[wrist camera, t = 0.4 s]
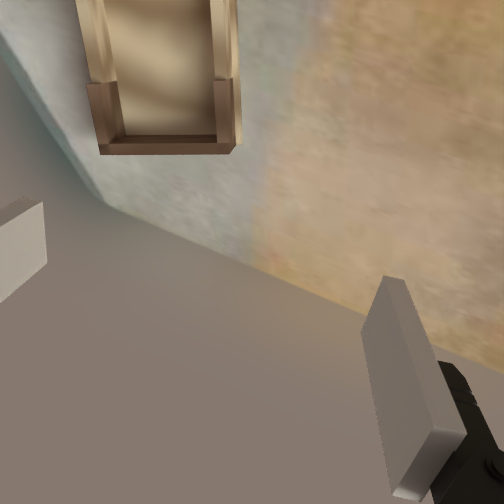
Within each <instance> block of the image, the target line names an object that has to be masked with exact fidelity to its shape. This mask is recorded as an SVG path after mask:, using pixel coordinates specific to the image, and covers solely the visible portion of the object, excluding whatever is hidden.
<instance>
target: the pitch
mask: <svg viewBox="0 0 504 504" xmlns="http://www.w3.org/2000/svg"><path fill="white" fill-rule="evenodd" d="M75 1H76V6H77V11H78V17H79V22H80V27H81V32H82V37H83V42H84V47H85V52H86V57H87V63H88V68H89V73H90V78H91V84H86V87H87V92H88V97H89V102H90V106H91V111H92V116H93V121H94V126H95V131H96V136H97V141H98V146H99V151H100V155H195V154H230V153H231V151H232V150H233V148H234V147H235V146H236V145H241V144H242V143H243V139H242V115H241V91H240V67H239V44H238V20H237V0H75Z"/></svg>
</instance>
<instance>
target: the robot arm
mask: <svg viewBox="0 0 504 504" xmlns="http://www.w3.org/2000/svg"><path fill="white" fill-rule="evenodd" d="M46 263H47V253H46V241H45V227H44V214H43V202H42V201H40V200H35V199H31V198H26V197H22V198H20V199H18V200H16V201H14V202H13V203H11V204H9V205H7V206H5V207H4V208H2V209H0V303H1V302H2V301H3V300H5V299H6V298H7V297H8V296H9V295H10V294H11V293H13V292H14V291H15V290H16V289H17V288H18V287H20V286H21V285H22V284H23V283H24V282H25V281H27V280H28V279H29V278H30V277H31V276H32V275H34V274H35V273H36V272H37V271H38V270H39V269H40V268H42V267H43V266H44V265H45V264H46ZM361 336H362V341H363V346H364V352H365V357H366V361H367V367H368V372H369V378H370V383H371V388H372V394H373V399H374V404H375V409H376V415H377V420H378V425H379V430H380V435H381V440H382V446H383V451H384V456H385V462H386V467H387V472H388V477H389V483H390V488H391V493H392V495H393V496H397V497H401V498H406V499H410V500H414V501H418V502H421V501H422V500H423V498H424V497H425V495H426V494H427V492H428V491H429V489H431V493H432V497H433V500H434V504H504V452H503V451H501V450H500V449H499V448H498V446H497V444H496V442H495V440H494V438H493V436H492V434H491V431H490V429H489V428H488V425H487V423H486V421H485V419H484V417H483V415H482V413H481V411H480V408H479V407H477V402H476V400H475V398H474V396H473V395H472V394H471V393H472V391H471V390H470V387H469V385H468V383H467V381H466V379H465V377H464V376H463V375H462V374H461V373H460V372H459V371H458V369H457V368H456V367H455V366H454V365H453V364H451V363H447V362H442V361H438V360H437V359H436V357H435V354H434V352H433V349H432V347H431V344H430V342H429V339H428V337H427V335H426V332H425V330H424V327H423V325H422V323H421V320H420V318H419V315H418V313H417V310H416V308H415V306H414V303H413V301H412V298H411V296H410V294H409V291H408V289H407V286H406V284H405V281H404V280H402V279H397V278H393V277H388V276H383V278H382V281H381V283H380V286H379V288H378V291H377V293H376V296H375V298H374V301H373V303H372V306H371V308H370V311H369V313H368V315H367V318H366V321H365V323H364V325H363V328H362V330H361Z"/></svg>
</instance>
